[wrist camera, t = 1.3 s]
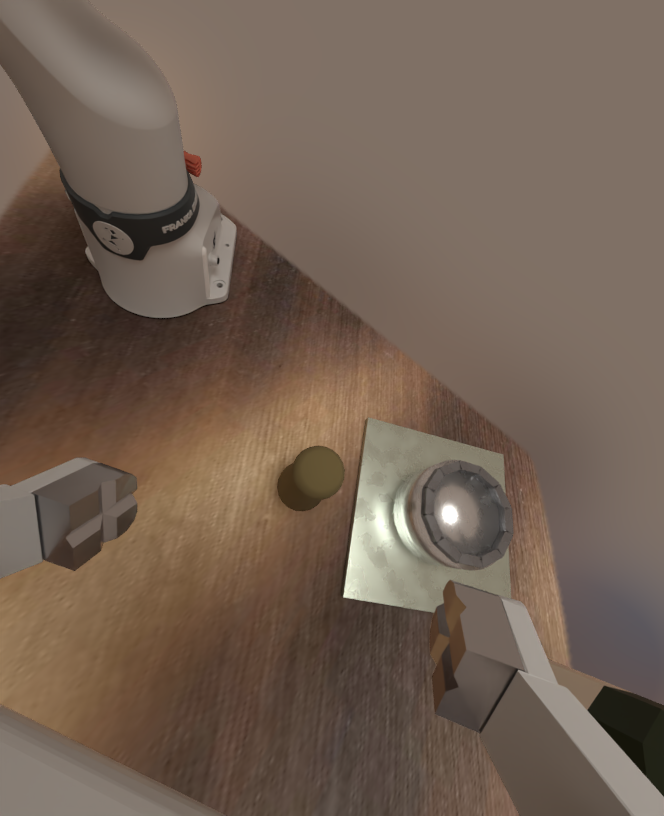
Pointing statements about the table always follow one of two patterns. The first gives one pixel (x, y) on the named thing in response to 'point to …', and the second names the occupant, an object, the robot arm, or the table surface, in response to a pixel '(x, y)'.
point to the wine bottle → (622, 719)
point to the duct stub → (426, 519)
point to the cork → (311, 478)
